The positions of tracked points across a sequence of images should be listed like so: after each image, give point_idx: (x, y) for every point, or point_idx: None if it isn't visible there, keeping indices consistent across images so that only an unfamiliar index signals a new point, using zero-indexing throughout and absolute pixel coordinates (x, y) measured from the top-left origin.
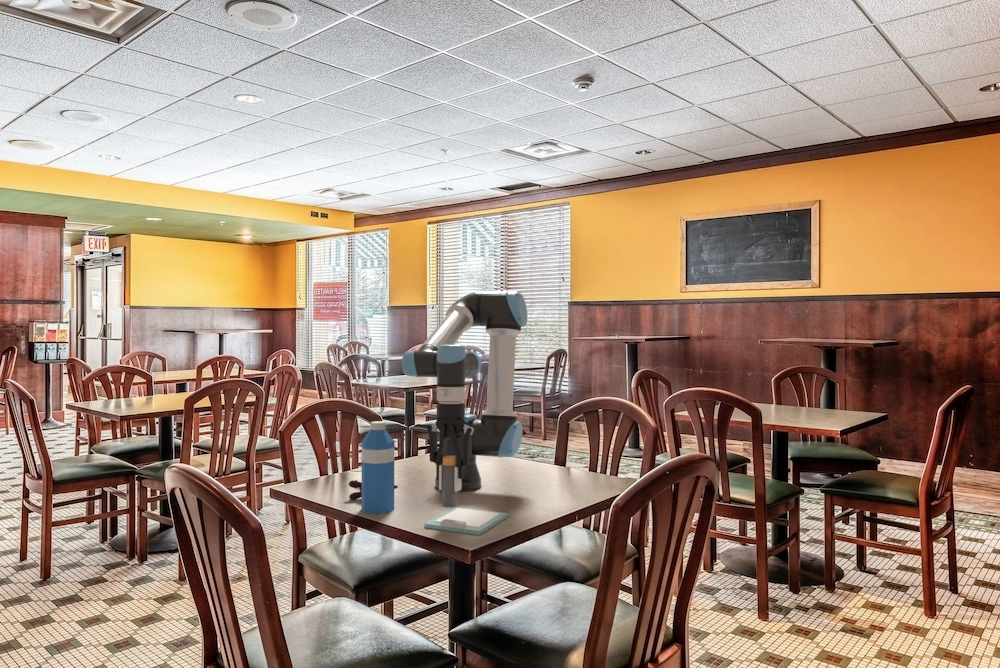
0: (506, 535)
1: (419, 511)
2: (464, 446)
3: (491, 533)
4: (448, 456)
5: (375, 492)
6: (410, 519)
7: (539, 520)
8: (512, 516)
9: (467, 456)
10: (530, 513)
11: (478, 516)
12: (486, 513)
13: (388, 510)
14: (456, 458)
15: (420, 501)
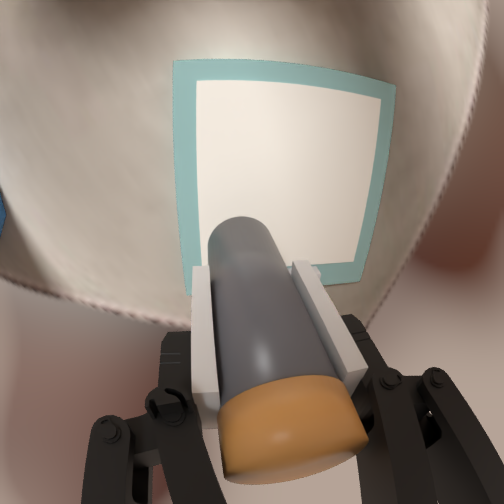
0: (408, 249)
1: (60, 149)
2: (440, 499)
3: (378, 252)
4: (273, 469)
5: None
6: (96, 241)
7: (458, 106)
8: (398, 76)
9: (435, 441)
10: (428, 39)
11: (324, 162)
12: (339, 114)
13: (2, 214)
14: (359, 456)
15: (9, 51)
